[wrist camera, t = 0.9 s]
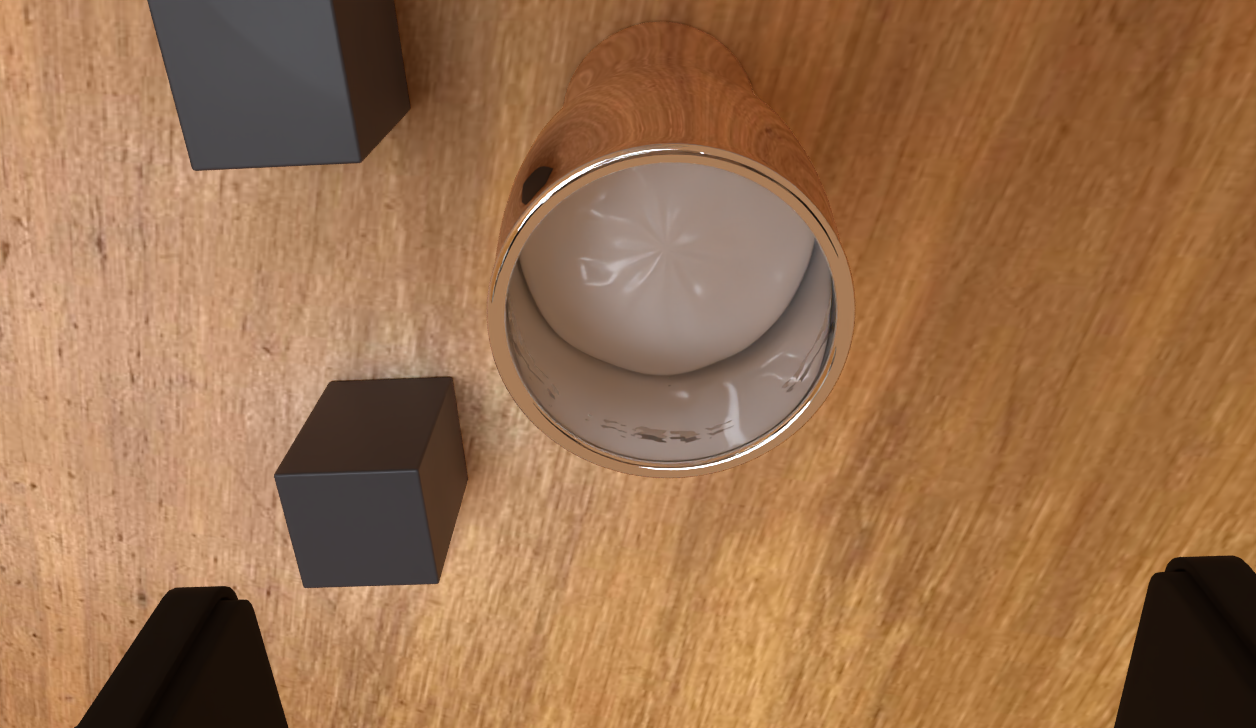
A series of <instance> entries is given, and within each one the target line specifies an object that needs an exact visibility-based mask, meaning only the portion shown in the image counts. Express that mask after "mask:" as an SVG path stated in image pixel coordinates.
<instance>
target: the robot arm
mask: <svg viewBox="0 0 1256 728" xmlns="http://www.w3.org/2000/svg"><path fill="white" fill-rule="evenodd" d="M74 728H288V725H287V721H286V718H285V715H284V711H283V708H282V704H281V701H280V697H279V694H278V691H277V687H276V684H275V680H274V677H273V673H272V670H271V667H270V663H269V660H268V656H267V653H266V650H265V646H264V643H263V639H262V636H261V632H260V629H259V626H258V622H257V619H256V615H255V612H254V609H253V607H252V604H251V603H250V602H249V601H248V600H238V598H237V596H236V593H235V592H234V591H233V590H232V589H231V588H230V587H226V586H215V587H182V588H174V589H172V590H169V591H168V592H167V593H166V595H165V596H164V597H163V598H162V600H161V601H160V603H159V604H158V606H157V607H156V609H155V610H154V612H153V613H152V615H151V616H150V618H149V619H148V621H147V622H146V624H145V625H144V627H143V628H142V630H141V631H140V633H139V634H138V636H137V637H136V639H135V640H134V642H133V643H132V645H131V646H130V648H129V649H128V651H127V652H126V654H125V655H124V657H123V658H122V660H121V661H120V663H119V664H118V666H117V667H116V669H115V670H114V672H113V673H112V675H111V676H110V678H109V679H108V681H107V682H106V684H105V685H104V687H103V688H102V690H101V691H100V693H99V694H98V696H97V697H96V699H95V700H94V702H93V703H92V705H91V706H90V708H89V709H88V711H87V712H86V714H85V715H84V717H83V718H82V720H81V721H80V723H79V724H78V725H77V726H76V727H74ZM1114 728H1256V573H1255V572H1254V571H1253V570H1252V569H1251V568H1250V567H1249V565H1248V564H1247V563H1245V562H1244V561H1243V560H1242V559H1241V558H1238V557H1235V556H1201V557H1178V558H1174V559H1172V560H1171V561H1170V562H1169V563H1168V564H1167V567H1166V570H1165V572H1159V573H1155V574H1154V575H1153V576H1152V577H1151V580H1150V582H1149V585H1148V590H1147V594H1146V598H1145V602H1144V606H1143V610H1142V614H1141V618H1140V623H1139V627H1138V631H1137V635H1136V639H1135V643H1134V647H1133V651H1132V656H1131V660H1130V664H1129V668H1128V672H1127V676H1126V680H1125V684H1124V689H1123V693H1122V697H1121V701H1120V705H1119V709H1118V713H1117V717H1116V722H1115V726H1114Z"/></svg>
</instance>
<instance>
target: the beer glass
mask: <svg viewBox="0 0 1256 728" xmlns="http://www.w3.org/2000/svg"><path fill="white" fill-rule="evenodd" d="M854 325H855V291H854V284H853V278H852V273H851V270H850V266H849V263H848V259H847V256H846V254H845V251H844V249H843V247H842V244H841V242H840V238H839V234H838V230H837V227H836V223H835V220H834V216H833V213H832V209H831V206H830V203H829V200H828V198H827V195H826V193H825V190H824V188H823V186H822V183H821V181H820V179H819V176H818V174H817V172H816V170H815V167H814V165H813V164H812V162H811V160H810V158H809V156H808V155H807V153H806V151H805V150H804V148H803V147H802V145H801V144H800V143H799V141H798V140H797V138H796V137H795V135H794V134H793V133H792V131H791V130H790V128H789V127H788V126H787V124H786V123H785V122H784V121H783V120H782V119H781V117H780V116H779V115H778V114H777V113H776V112H775V111H774V110H773V109H772V108H770V107H769V106H768V105H767V104H766V103H765V102H763V101H762V100H761V99H760V98H758V97H757V96H755V95H754V93H753V89H752V86H751V83H750V81H749V79H748V76H747V74H746V72H745V71H744V69H743V67H742V66H741V64H740V63H739V61H738V60H737V59H736V57H735V56H734V55H733V54H732V53H731V52H730V51H729V50H728V49H727V48H726V47H725V46H724V45H723V44H722V43H721V42H719V41H718V40H717V39H715V38H714V37H712V36H711V35H709V34H707V33H705V32H703V31H701V30H699V29H696V28H694V27H691V26H688V25H684V24H680V23H674V22H647V23H641V24H637V25H633V26H630V27H627V28H625V29H622V30H620V31H618V32H616V33H614V34H612V35H611V36H609V37H608V38H606V39H605V40H603V41H602V42H601V43H599V44H598V45H597V46H596V47H595V48H593V49H592V50H591V51H590V52H589V53H588V54H587V56H586V57H585V58H584V59H583V60H582V62H581V63H580V64H579V66H578V67H577V69H576V71H575V72H574V74H573V76H572V78H571V80H570V83H569V85H568V88H567V91H566V94H565V98H564V103H563V108H562V109H560V110H559V111H558V112H557V113H556V114H555V115H554V116H553V117H552V118H551V120H550V121H549V122H548V123H547V124H546V126H545V127H544V128H543V129H542V131H541V132H540V133H539V135H538V136H537V138H536V139H535V141H534V143H533V144H532V146H531V148H530V150H529V152H528V154H527V155H526V157H525V159H524V161H523V163H522V165H521V167H520V169H519V171H518V173H517V175H516V177H515V180H514V183H513V185H512V188H511V191H510V195H509V198H508V201H507V205H506V208H505V211H504V215H503V219H502V223H501V228H500V233H499V239H498V245H497V251H496V258H495V264H494V267H493V271H492V275H491V279H490V284H489V289H488V297H487V328H488V335H489V341H490V346H491V350H492V354H493V358H494V361H495V364H496V366H497V369H498V371H499V374H500V376H501V378H502V380H503V382H504V384H505V386H506V388H507V390H508V391H509V393H510V395H511V396H512V398H513V399H514V401H515V402H516V404H517V405H518V406H519V408H520V409H521V410H522V411H523V413H524V414H525V415H526V416H527V417H528V418H529V420H530V421H531V422H532V423H533V424H534V425H535V426H536V427H537V428H538V429H540V430H541V431H542V432H543V433H544V434H545V435H546V436H548V437H549V438H550V439H552V440H553V441H554V442H555V443H557V444H558V445H560V446H561V447H563V448H564V449H566V450H568V451H569V452H571V453H573V454H575V455H576V456H578V457H580V458H582V459H584V460H587V461H589V462H591V463H594V464H596V465H599V466H601V467H604V468H607V469H611V470H614V471H617V472H621V473H626V474H631V475H636V476H643V477H653V478H685V477H694V476H701V475H707V474H712V473H716V472H720V471H724V470H727V469H730V468H733V467H736V466H739V465H742V464H744V463H747V462H749V461H751V460H753V459H756V458H758V457H760V456H761V455H763V454H765V453H767V452H769V451H770V450H772V449H774V448H775V447H777V446H779V445H780V444H781V443H783V442H784V441H786V440H787V439H788V438H790V437H791V436H792V435H793V434H795V433H796V432H797V431H798V430H799V429H800V428H801V427H803V426H804V425H805V424H806V423H807V422H808V421H809V420H810V419H811V418H812V416H813V415H814V414H815V413H816V412H817V411H818V409H819V408H820V407H821V406H822V404H823V403H824V402H825V400H826V399H827V397H828V396H829V394H830V393H831V391H832V390H833V388H834V386H835V384H836V382H837V381H838V379H839V377H840V375H841V373H842V370H843V368H844V365H845V363H846V360H847V357H848V354H849V351H850V347H851V343H852V338H853V332H854Z"/></svg>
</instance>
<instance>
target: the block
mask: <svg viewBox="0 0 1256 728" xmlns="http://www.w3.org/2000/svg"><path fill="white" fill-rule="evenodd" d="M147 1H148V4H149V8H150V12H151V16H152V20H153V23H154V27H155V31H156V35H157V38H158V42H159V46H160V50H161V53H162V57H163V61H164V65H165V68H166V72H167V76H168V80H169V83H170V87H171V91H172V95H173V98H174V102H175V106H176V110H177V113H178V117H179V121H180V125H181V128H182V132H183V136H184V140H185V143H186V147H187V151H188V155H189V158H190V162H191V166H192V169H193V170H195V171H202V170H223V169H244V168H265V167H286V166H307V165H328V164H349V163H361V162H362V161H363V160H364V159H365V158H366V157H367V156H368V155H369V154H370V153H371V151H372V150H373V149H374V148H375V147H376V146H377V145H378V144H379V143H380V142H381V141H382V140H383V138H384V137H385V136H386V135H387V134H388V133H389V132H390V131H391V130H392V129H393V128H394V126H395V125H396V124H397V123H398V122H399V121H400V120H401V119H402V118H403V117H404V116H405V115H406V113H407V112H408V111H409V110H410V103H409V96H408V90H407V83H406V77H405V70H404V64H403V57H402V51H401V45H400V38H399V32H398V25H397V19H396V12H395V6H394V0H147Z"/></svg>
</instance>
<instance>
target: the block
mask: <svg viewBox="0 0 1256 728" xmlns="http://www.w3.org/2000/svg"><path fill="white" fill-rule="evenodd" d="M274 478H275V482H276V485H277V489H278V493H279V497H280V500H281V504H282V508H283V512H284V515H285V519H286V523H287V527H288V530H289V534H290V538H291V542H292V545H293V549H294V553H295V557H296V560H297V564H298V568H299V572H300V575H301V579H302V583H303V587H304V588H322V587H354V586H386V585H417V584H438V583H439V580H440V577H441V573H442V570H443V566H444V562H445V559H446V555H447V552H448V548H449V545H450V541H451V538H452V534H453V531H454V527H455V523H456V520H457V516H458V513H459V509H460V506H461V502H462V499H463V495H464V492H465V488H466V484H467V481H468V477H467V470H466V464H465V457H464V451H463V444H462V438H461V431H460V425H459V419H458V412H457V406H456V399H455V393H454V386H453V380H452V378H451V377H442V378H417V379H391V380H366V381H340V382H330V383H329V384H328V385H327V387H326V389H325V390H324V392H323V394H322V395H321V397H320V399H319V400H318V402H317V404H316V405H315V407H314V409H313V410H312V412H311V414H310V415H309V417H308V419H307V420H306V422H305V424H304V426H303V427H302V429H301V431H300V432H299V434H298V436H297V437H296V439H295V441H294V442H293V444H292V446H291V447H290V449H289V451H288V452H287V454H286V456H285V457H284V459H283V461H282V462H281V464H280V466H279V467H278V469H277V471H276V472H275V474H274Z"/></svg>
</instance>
